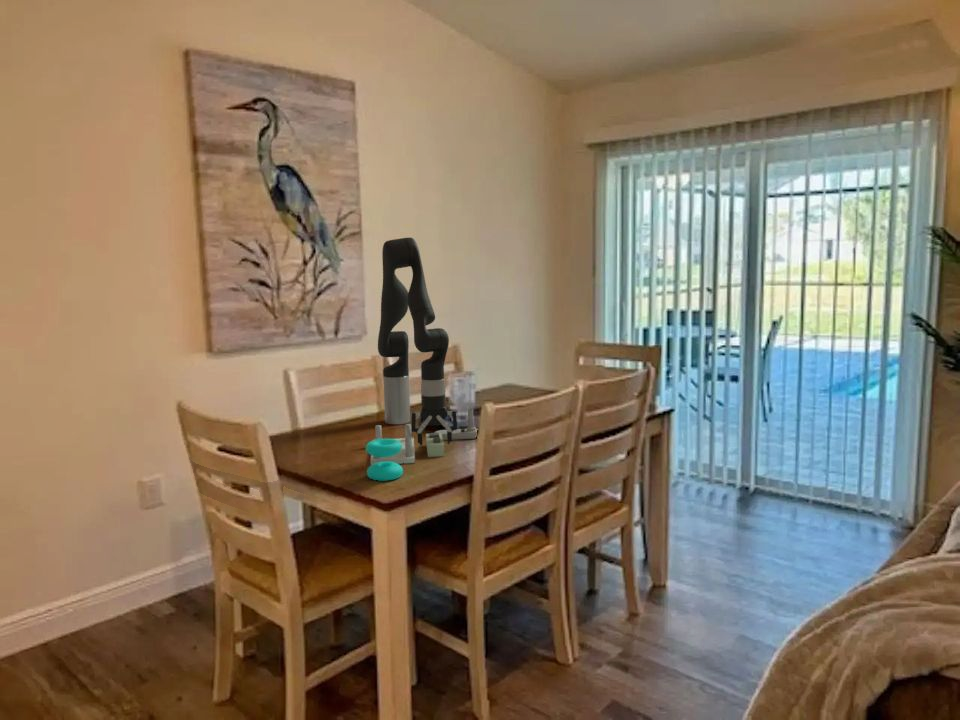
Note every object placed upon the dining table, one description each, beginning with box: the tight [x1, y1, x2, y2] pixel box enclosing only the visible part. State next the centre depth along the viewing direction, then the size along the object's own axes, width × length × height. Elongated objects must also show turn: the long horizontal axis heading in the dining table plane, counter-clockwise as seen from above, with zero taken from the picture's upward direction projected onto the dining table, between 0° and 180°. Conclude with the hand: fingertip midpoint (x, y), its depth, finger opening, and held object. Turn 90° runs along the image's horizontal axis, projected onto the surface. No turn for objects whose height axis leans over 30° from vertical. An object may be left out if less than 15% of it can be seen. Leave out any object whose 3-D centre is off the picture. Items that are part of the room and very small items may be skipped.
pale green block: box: [425, 432, 445, 458], centre depth 235 cm, size 14×5×5 cm, turn 6°
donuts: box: [365, 438, 404, 482], centre depth 208 cm, size 10×10×10 cm
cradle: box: [370, 423, 416, 466], centre depth 232 cm, size 24×13×6 cm, turn 6°
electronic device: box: [434, 408, 479, 441], centre depth 249 cm, size 5×10×15 cm
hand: (434, 443), depth 234 cm, fingers open, 8 cm apart
